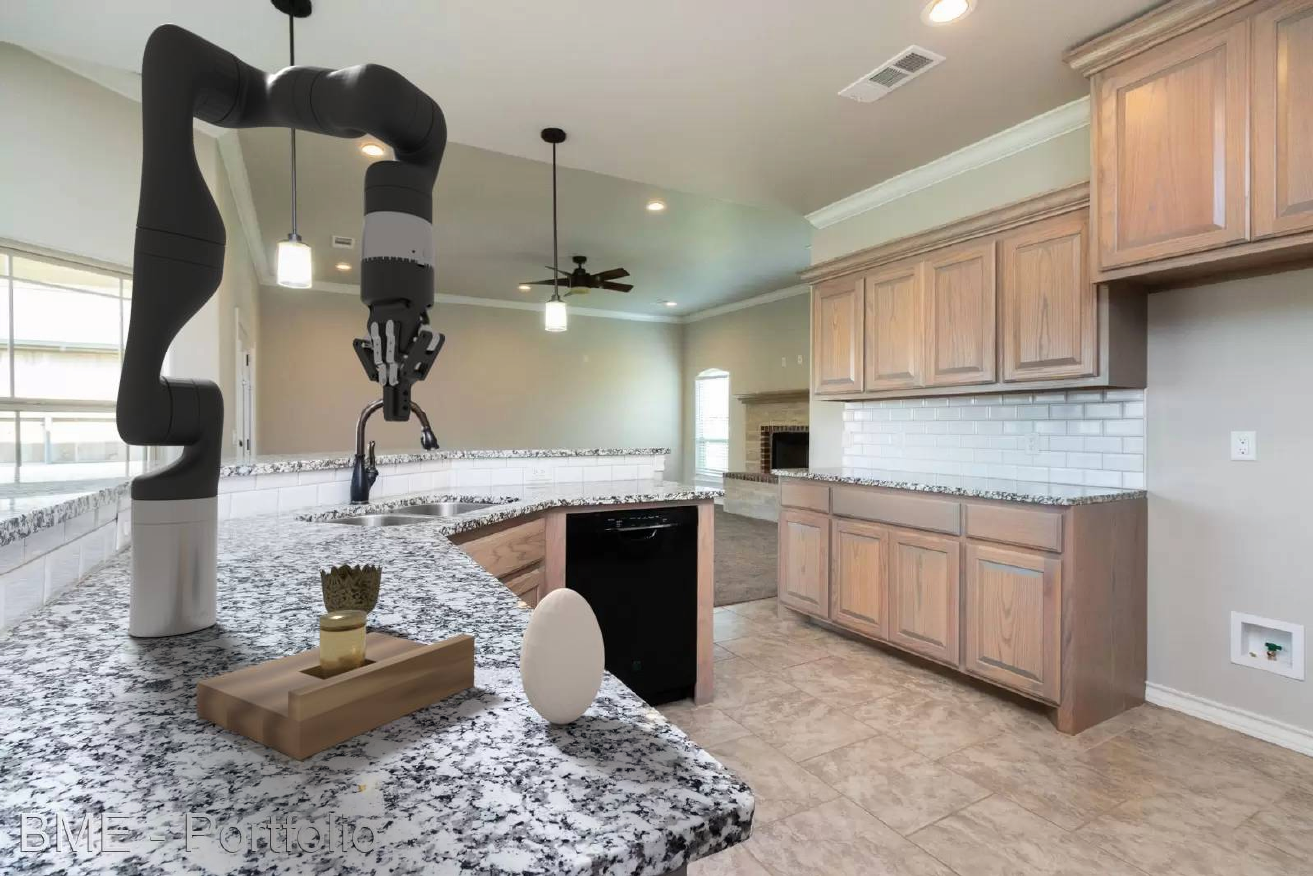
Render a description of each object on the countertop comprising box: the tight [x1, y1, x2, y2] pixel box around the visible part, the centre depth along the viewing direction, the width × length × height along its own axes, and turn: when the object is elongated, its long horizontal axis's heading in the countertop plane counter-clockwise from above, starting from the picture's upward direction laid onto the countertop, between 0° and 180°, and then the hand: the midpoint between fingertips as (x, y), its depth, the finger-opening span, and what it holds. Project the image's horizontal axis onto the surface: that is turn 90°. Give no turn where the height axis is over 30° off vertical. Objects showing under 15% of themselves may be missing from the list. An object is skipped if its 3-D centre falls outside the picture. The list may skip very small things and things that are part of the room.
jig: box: [196, 631, 476, 761], centre depth 61 cm, size 16×18×5 cm
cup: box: [319, 563, 383, 616], centre depth 85 cm, size 8×7×8 cm
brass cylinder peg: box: [318, 610, 368, 680], centre depth 62 cm, size 4×4×8 cm
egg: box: [519, 587, 606, 725], centre depth 57 cm, size 7×7×12 cm
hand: (396, 421), depth 70 cm, fingers closed
